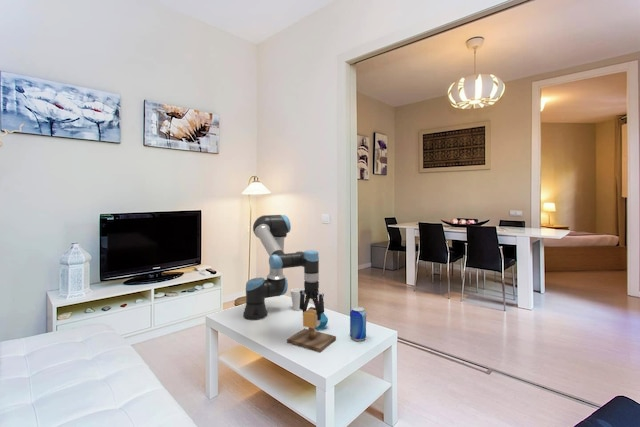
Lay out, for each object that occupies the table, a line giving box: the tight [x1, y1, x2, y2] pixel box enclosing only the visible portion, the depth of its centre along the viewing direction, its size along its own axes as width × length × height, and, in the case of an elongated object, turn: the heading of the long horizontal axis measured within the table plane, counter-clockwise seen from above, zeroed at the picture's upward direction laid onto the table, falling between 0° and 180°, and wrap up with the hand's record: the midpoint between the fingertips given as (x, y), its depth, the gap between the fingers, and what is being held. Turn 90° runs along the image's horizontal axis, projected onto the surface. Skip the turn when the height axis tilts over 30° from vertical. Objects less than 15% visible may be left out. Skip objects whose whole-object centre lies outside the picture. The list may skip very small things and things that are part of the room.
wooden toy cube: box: [302, 308, 317, 329], centre depth 161 cm, size 6×6×7 cm
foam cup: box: [290, 287, 305, 312], centre depth 210 cm, size 10×9×13 cm
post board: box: [286, 327, 337, 353], centre depth 161 cm, size 20×16×9 cm
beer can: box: [349, 306, 367, 342], centre depth 165 cm, size 8×8×16 cm
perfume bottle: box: [315, 300, 329, 331], centre depth 179 cm, size 9×9×15 cm
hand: (311, 324), depth 161 cm, fingers closed on wooden toy cube, 6 cm apart
